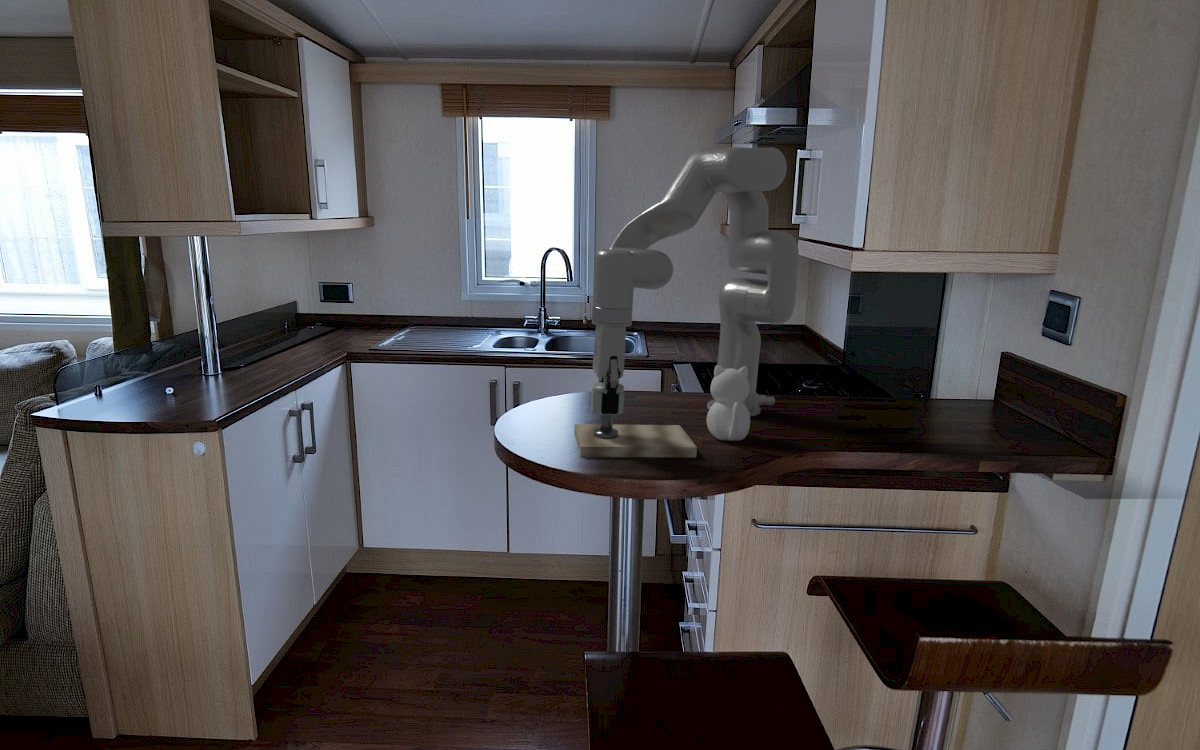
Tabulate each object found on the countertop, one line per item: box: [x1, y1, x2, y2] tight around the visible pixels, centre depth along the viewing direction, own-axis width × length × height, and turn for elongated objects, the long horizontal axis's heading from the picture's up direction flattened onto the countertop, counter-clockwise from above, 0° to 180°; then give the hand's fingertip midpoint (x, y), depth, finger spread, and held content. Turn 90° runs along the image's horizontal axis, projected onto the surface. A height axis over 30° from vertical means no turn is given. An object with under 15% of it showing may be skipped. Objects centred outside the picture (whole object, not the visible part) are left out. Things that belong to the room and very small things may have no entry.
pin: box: [593, 415, 618, 439], centre depth 129 cm, size 5×5×7 cm
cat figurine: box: [706, 364, 751, 442], centre depth 137 cm, size 9×12×15 cm
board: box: [574, 423, 698, 458], centre depth 131 cm, size 22×14×2 cm, turn 97°
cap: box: [590, 381, 625, 416], centre depth 128 cm, size 6×6×5 cm
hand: (607, 407), depth 128 cm, fingers closed on cap, 6 cm apart
